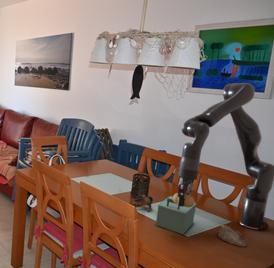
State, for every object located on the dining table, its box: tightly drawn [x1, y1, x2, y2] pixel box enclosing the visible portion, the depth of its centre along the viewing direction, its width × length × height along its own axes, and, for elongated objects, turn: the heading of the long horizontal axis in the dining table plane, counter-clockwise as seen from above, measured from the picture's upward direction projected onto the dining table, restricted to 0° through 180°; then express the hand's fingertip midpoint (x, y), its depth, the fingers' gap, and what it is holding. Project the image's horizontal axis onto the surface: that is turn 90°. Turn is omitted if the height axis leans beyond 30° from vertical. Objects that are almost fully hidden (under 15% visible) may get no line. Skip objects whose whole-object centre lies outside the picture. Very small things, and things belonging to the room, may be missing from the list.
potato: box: [172, 192, 196, 207], centre depth 146 cm, size 9×5×5 cm, turn 50°
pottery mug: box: [132, 194, 154, 212], centre depth 180 cm, size 12×10×8 cm
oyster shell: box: [217, 224, 246, 247], centre depth 150 cm, size 10×12×5 cm
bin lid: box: [157, 195, 197, 215], centre depth 160 cm, size 18×13×5 cm
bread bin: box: [155, 204, 197, 235], centre depth 162 cm, size 17×13×10 cm
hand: (182, 204), depth 146 cm, fingers closed on potato, 5 cm apart
